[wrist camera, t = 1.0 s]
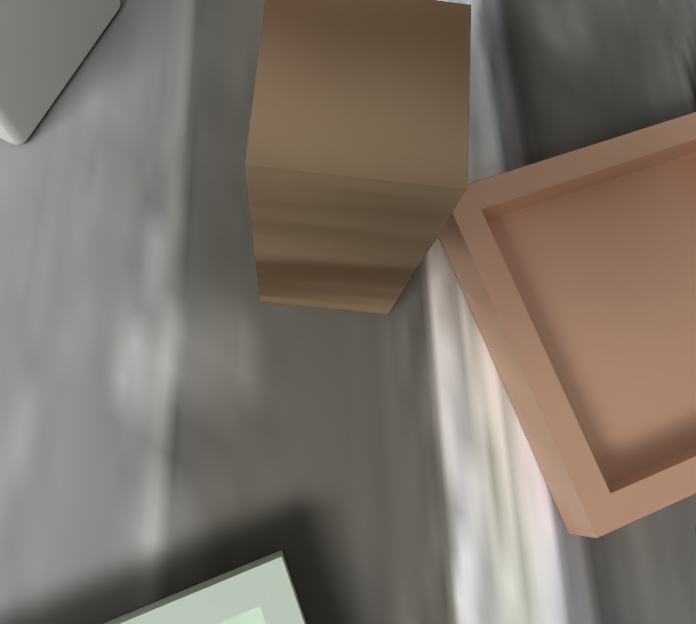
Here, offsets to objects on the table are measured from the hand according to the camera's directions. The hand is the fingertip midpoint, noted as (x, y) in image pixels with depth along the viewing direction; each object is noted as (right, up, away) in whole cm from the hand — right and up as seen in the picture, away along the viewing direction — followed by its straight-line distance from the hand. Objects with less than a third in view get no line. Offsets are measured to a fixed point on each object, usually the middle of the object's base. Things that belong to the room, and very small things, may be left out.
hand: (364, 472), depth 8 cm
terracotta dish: (+11, +2, +16) cm, 19 cm away
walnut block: (-1, +4, +15) cm, 16 cm away
